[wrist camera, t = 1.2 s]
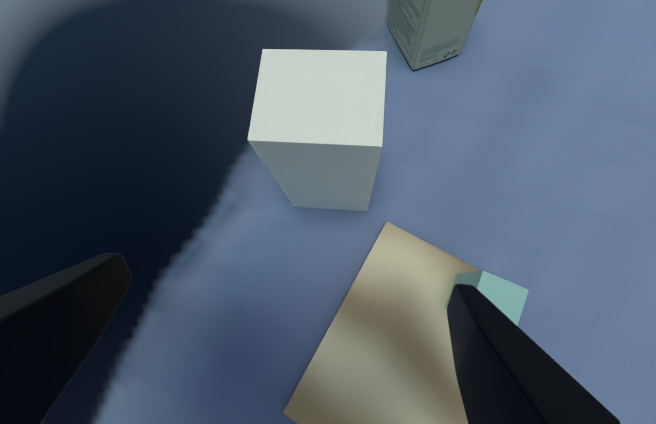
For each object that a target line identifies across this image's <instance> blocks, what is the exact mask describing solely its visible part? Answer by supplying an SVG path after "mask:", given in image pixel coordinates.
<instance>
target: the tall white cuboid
mask: <svg viewBox="0 0 656 424" xmlns="http://www.w3.org/2000/svg"><path fill="white" fill-rule="evenodd" d="M386 56H387V51H340V50H335V51H334V50H281V49H280V50H279V49H263V51H262V57H261V63H260V69H259V75H258V81H257V87H256V94H255V99H254V105H253V112H252V118H251V123H250V129H249V135H248V142H249V143H250V144H251V146H252V147H253V149H254V150H255V152H256V153H257V154H258V156H259V157H260V159H261V160H262V162H263V163H264V164H265V166H266V167H267V169H268V170H269V172H270V173H271V174H272V176H273V177H274V179H275V180H276V182H277V183H278V184H279V186H280V187H281V189H282V190H283V192H284V193H285V194H286V196H287V197H288V199H289V200H290V202H291V203H292V205H293V206H294V207H303V208H318V209H333V210H348V211H363V212H368V207H369V203H370V198H371V194H372V190H373V185H374V181H375V176H376V172H377V167H378V163H379V158H380V154H381V150H382V140H383V119H384V98H385V77H386Z"/></svg>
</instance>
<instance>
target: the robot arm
mask: <svg viewBox="0 0 656 424" xmlns="http://www.w3.org/2000/svg"><path fill="white" fill-rule="evenodd" d="M131 281H132V276H131V274H130V272H129V269H128V267H127V264H126V262H125V260H124V258H123V257H122V256H121V255H119V254H110V253H105V254H102V255H99V256H97V257H95V258H92V259H90V260H88V261H85V262H82V263H80V264H78V265H75V266H73V267H70V268H68V269H66V270H63V271H61V272H59V273H56V274H54V275H52V276H49V277H46V278H44V279H42V280H39V281H37V282H35V283H32V284H30V285H28V286H25V287H23V288H20V289H18V290H15V291H13V292H11V293H8V294H6V295H3V296H1V297H0V424H40V423H41V422H42V421H43V419H44V418H45V416H46V415H47V413H48V412H49V410H50V409H51V407H52V406H53V405H54V403H55V402H56V400H57V399H58V397H59V396H60V394H61V393H62V392H63V390H64V389H65V387H66V386H67V384H68V383H69V382H70V380H71V379H72V377H73V376H74V374H75V373H76V371H77V370H78V368H79V367H80V366H81V364H82V363H83V361H84V360H85V358H86V357H87V356H88V354H89V353H90V351H91V350H92V348H93V347H94V345H95V344H96V343H97V341H98V339H99V338H100V336H101V335H102V333H103V332H104V330H105V328H106V327H107V325H108V323H109V322H110V320H111V318H112V316H113V314H114V313H115V311H116V309H117V307H118V306H119V304H120V302H121V300H122V299H123V297H124V295H125V293H126V292H127V290H128V288H129V286H130V284H131ZM447 318H448V325H449V332H450V339H451V346H452V353H453V359H454V366H455V372H456V377H457V382H458V386H459V390H460V394H461V398H462V401H463V405H464V409H465V413H466V417H467V421H468V424H620V421H619V420H618V419H617V418H616V417H615V416H614V415H613V414H612V413H611V412H609V411H608V410H607V409H606V408H605V407H604V406H603V405H602V404H601V403H600V402H599V401H598V400H597V399H595V398H594V397H593V396H592V395H591V394H590V393H589V392H588V391H587V390H586V389H585V388H584V387H582V386H581V385H580V384H579V383H578V382H577V381H576V380H575V379H574V378H573V377H572V376H571V375H570V374H568V373H567V372H566V371H565V370H564V369H563V368H562V367H561V366H560V365H559V364H558V363H557V362H556V361H554V360H553V359H552V358H551V357H550V356H549V355H548V354H547V353H546V352H545V351H544V350H543V349H542V348H540V347H539V346H538V345H537V344H536V343H535V342H534V341H533V340H532V339H531V338H530V337H529V336H527V335H526V334H525V333H524V332H523V331H522V330H521V329H520V328H519V327H518V326H517V325H516V324H515V323H513V322H512V321H511V320H510V319H509V318H508V317H507V316H506V315H505V314H504V313H503V312H502V311H501V310H499V309H498V308H497V307H496V306H495V305H494V304H493V303H492V302H491V301H490V300H489V299H488V298H487V297H485V296H484V295H483V294H482V293H481V292H480V291H479V290H478V289H477V288H476V287H474V286H473V285H470V284H455V285H454V287H453V290H452V293H451V296H450V299H449V303H448V306H447Z"/></svg>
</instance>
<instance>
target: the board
mask: <svg viewBox="0 0 656 424" xmlns="http://www.w3.org/2000/svg"><path fill="white" fill-rule="evenodd" d="M475 271H480V270H478V269H476V268H474V267H472V266H470V265H468V264H466V263H464V262H462V261H461V260H459V259H457V258H455V257H453V256H451V255H449V254H447V253H445V252H444V251H442V250H440V249H438V248H436V247H434V246H432V245H430V244H428V243H426V242H425V241H423V240H421V239H419V238H417V237H415V236H413V235H411V234H409V233H408V232H406V231H404V230H402V229H400V228H398V227H396V226H394V225H392V224H391V223H389V222H386V224H385V225H384V227H383V229H382V231H381V233H380V235H379V236H378V238H377V240H376V242H375V244H374V246H373V248H372V249H371V251H370V253H369V255H368V257H367V259H366V260H365V262H364V264H363V266H362V268H361V270H360V271H359V273H358V275H357V277H356V279H355V281H354V283H353V284H352V286H351V288H350V290H349V292H348V294H347V295H346V297H345V299H344V301H343V303H342V305H341V306H340V308H339V310H338V312H337V314H336V316H335V317H334V319H333V321H332V323H331V325H330V327H329V329H328V330H327V332H326V334H325V336H324V338H323V340H322V341H321V343H320V345H319V347H318V349H317V351H316V352H315V354H314V356H313V358H312V360H311V362H310V363H309V365H308V367H307V369H306V371H305V373H304V375H303V376H302V378H301V380H300V382H299V384H298V386H297V387H296V389H295V391H294V393H293V395H292V397H291V398H290V400H289V402H288V404H287V406H286V408H285V410H284V411H283V414H284V415H286V416H287V417H289V418H290V419H292V420H293V421H294V422H296V423H297V424H468V421H467V417H466V413H465V409H464V405H463V401H462V398H461V394H460V390H459V386H458V382H457V377H456V372H455V366H454V359H453V353H452V346H451V339H450V332H449V325H448V318H447V309H446V308H445V306H446V303H447V301H448V298H449V295H450V292H451V290H452V287H453V284H454V281H455V279H456V276H457V274H459V273H467V272H475Z"/></svg>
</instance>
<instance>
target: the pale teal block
mask: <svg viewBox="0 0 656 424" xmlns="http://www.w3.org/2000/svg"><path fill="white" fill-rule="evenodd" d="M455 284H470V285H473V286H474V287H476V288H477V289H478V290H479V291H480V292H481V293H482V294H483V295H484V296H485V297H487V298H488V299H489V300H490V301H491V302H492V303H493V304H494V305H495V306H496V307H497V308H498V309H499V310H501V311H502V312H503V313H504V314H505V315H506V316H507V317H508V318H509V319H510V320H511V321H512V322H513V323H515V324H516V325H517V326H518V323H519V320H520V316H521V313H522V310H523V307H524V304H525V300H526V297H527V294H528V291H529V290H527V289H525V288H523V287H520V286H518V285H516V284H514V283H511V282H509V281H507V280H504V279H502V278H500V277H497V276H495V275H493V274H490V273H488V272H486V271H475V272H467V273H459V274H457V276H456V279H455V281H454V284H453V287H454V285H455ZM453 287H452V290H453ZM452 290H451V292H450V295H449V298H448V301H447V303H446V306H445V308H446V309H447V306H448V303H449V299H450V296H451V293H452Z"/></svg>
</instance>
